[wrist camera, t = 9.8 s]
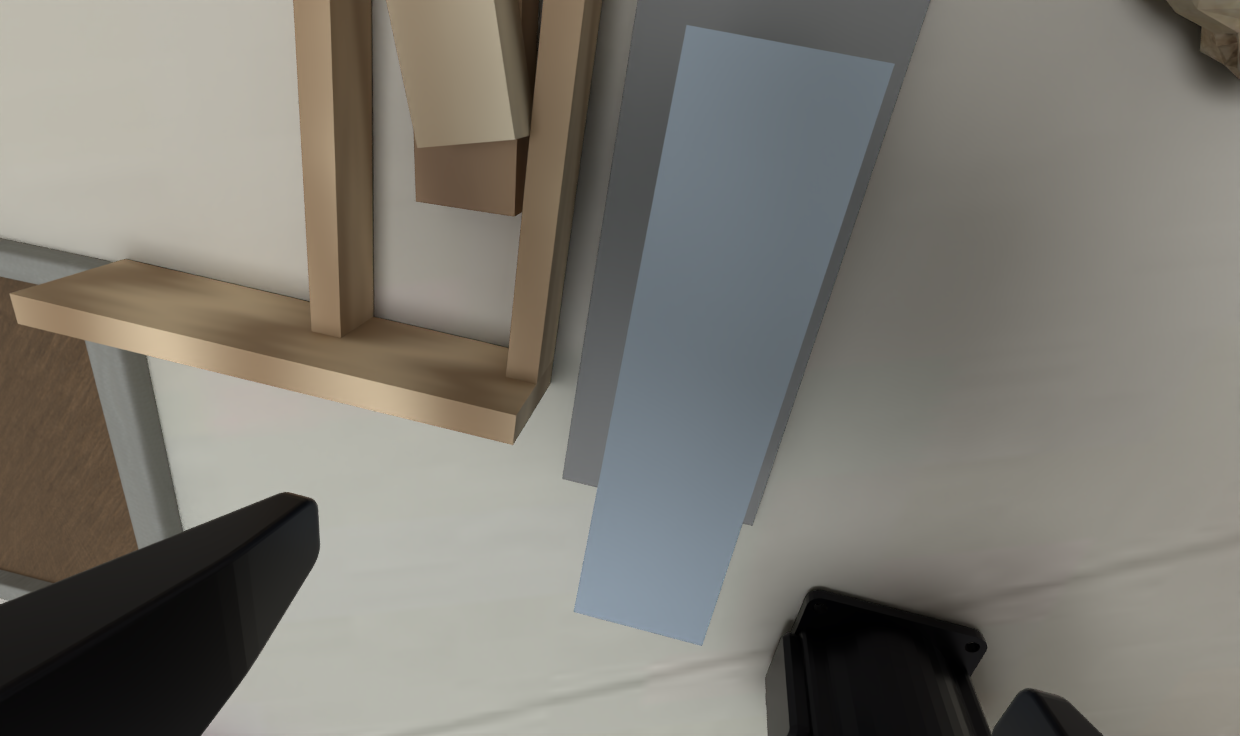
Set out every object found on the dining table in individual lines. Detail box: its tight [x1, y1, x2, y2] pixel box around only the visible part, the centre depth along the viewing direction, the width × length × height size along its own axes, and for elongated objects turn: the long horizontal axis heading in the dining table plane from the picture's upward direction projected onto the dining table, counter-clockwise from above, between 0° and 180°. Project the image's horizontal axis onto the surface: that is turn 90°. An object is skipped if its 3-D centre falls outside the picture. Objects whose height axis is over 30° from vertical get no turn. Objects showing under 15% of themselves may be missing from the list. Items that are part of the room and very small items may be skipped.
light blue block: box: [574, 25, 895, 646], centre depth 15 cm, size 3×12×8 cm, turn 170°
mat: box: [562, 0, 930, 526], centre depth 19 cm, size 7×17×1 cm, turn 170°
